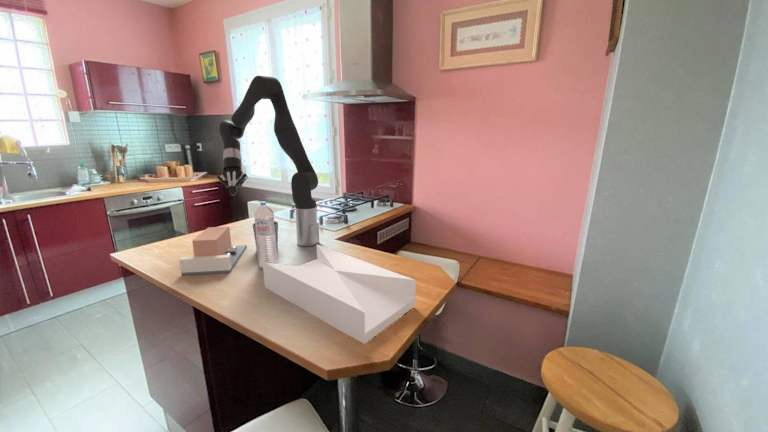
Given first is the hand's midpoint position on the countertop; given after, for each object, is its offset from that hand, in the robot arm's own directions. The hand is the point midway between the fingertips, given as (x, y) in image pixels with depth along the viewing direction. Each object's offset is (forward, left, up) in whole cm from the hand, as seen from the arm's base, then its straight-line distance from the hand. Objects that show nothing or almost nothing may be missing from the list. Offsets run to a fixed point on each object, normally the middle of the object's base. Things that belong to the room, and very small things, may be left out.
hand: (233, 194), depth 139 cm
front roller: (-9, +21, -20) cm, 30 cm away
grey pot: (-19, +3, -22) cm, 29 cm away
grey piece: (-8, +19, -22) cm, 30 cm away
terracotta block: (-9, +21, -18) cm, 29 cm away
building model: (-65, +27, -23) cm, 74 cm away
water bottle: (-30, +16, -22) cm, 41 cm away
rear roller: (-5, +14, -20) cm, 25 cm away
